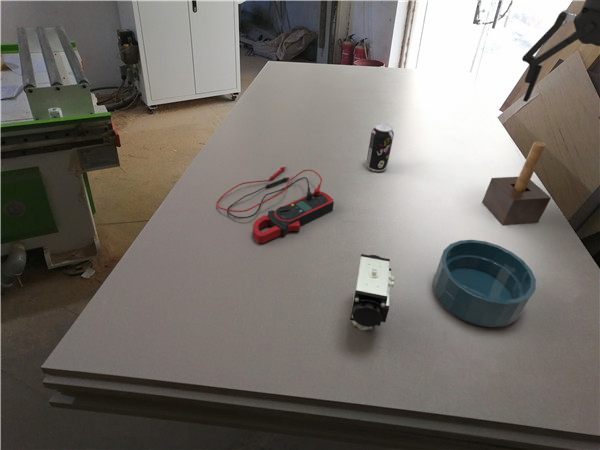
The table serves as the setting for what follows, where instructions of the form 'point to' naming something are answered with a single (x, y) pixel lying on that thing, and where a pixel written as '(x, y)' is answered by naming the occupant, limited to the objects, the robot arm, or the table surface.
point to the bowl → (483, 283)
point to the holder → (515, 201)
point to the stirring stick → (529, 166)
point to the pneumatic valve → (371, 292)
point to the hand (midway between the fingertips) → (562, 108)
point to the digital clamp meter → (287, 210)
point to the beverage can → (379, 147)
